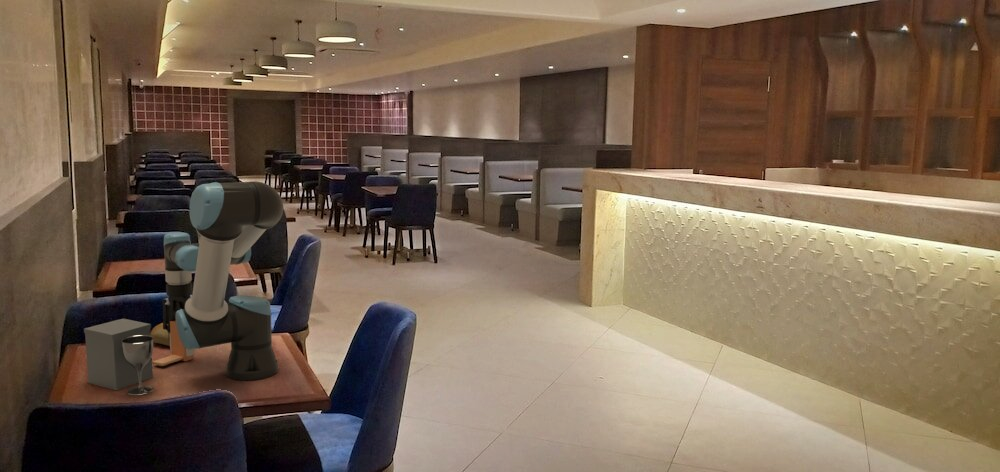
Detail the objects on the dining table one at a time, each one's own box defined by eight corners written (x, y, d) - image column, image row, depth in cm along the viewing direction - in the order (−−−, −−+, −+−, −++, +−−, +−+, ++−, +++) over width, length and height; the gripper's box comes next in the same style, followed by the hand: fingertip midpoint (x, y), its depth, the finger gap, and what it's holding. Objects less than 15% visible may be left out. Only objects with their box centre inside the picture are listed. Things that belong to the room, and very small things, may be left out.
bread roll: (165, 338, 263) (164, 315, 262) (199, 343, 258) (198, 321, 257) (143, 346, 255) (141, 322, 253) (177, 351, 249) (176, 328, 248)
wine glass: (118, 393, 212) (114, 341, 210) (140, 384, 220) (137, 333, 217) (140, 397, 209) (137, 344, 207) (162, 388, 217) (159, 337, 214)
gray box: (154, 377, 225) (151, 323, 223) (115, 390, 214) (112, 334, 211) (127, 370, 231) (123, 318, 228) (87, 383, 219) (83, 328, 217)
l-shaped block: (193, 358, 242) (191, 321, 240) (164, 368, 232) (162, 330, 230) (180, 355, 244) (178, 319, 242) (150, 365, 235) (148, 327, 233)
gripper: (210, 283, 237) (213, 355, 240) (167, 276, 245) (170, 345, 249) (191, 288, 230) (194, 361, 234) (147, 280, 239) (151, 352, 242)
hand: (182, 353), depth 241 cm, fingers open, 6 cm apart
